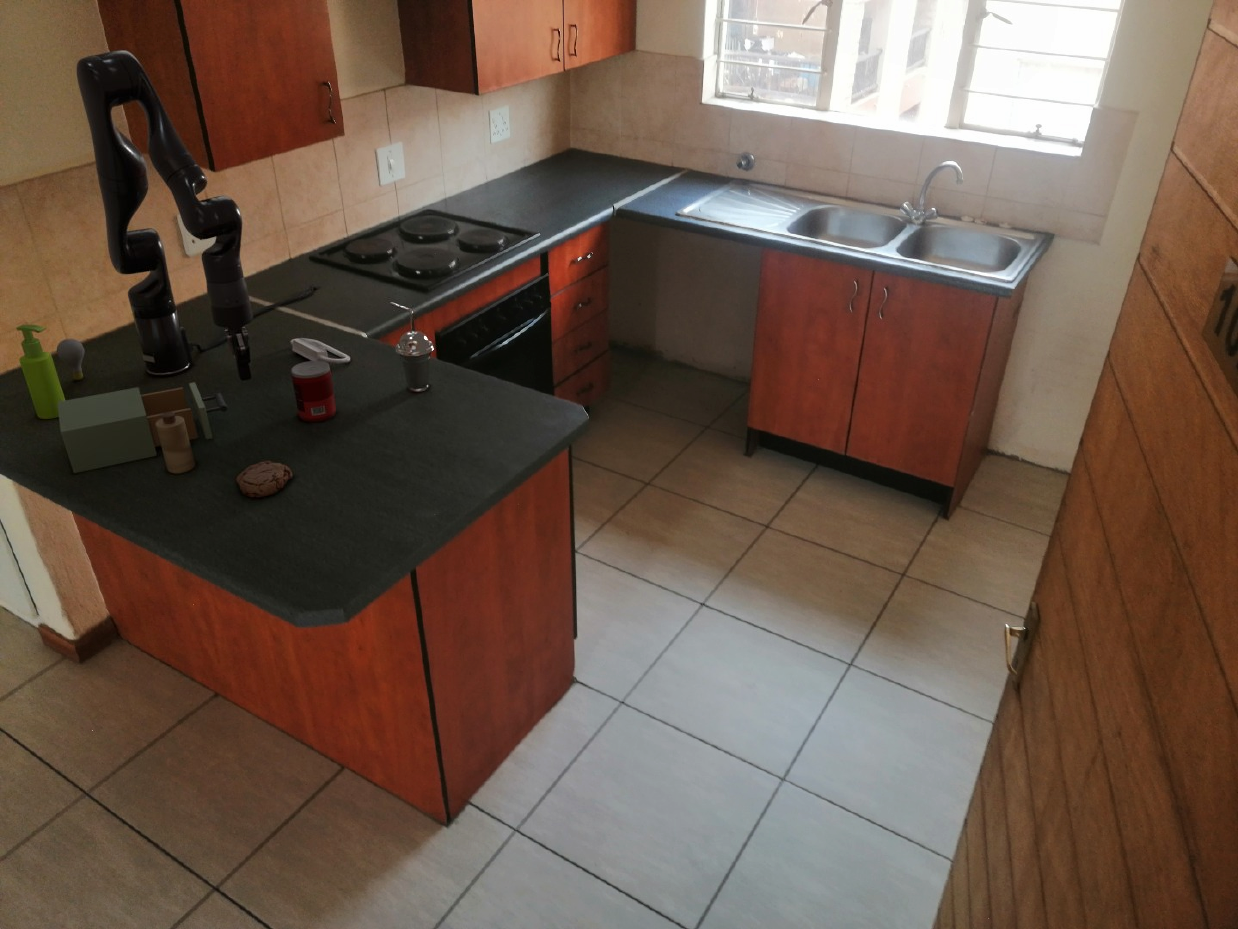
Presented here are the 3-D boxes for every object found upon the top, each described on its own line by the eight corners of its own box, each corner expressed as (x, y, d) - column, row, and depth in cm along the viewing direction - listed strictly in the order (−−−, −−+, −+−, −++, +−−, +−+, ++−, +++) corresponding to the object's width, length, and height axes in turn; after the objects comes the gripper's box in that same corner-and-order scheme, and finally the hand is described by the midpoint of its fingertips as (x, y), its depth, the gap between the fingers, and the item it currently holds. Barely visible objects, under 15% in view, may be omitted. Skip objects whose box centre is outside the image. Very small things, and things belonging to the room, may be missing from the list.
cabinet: (148, 425, 198) (138, 387, 193) (157, 455, 187) (146, 415, 182) (69, 441, 191) (57, 401, 187) (74, 473, 180) (60, 432, 176)
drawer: (222, 408, 203) (216, 378, 200) (234, 433, 193) (227, 402, 190) (132, 425, 196) (124, 395, 192) (139, 453, 185) (131, 421, 182)
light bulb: (97, 376, 219) (86, 336, 214) (79, 386, 214) (66, 345, 209) (79, 373, 220) (67, 333, 215) (60, 382, 216) (47, 342, 211)
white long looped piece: (355, 368, 228) (357, 353, 227) (326, 370, 222) (327, 354, 221) (312, 346, 240) (313, 332, 239) (282, 347, 234) (283, 332, 233)
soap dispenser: (59, 420, 199) (31, 332, 189) (31, 417, 200) (1, 329, 191) (78, 408, 204) (52, 322, 194) (50, 405, 205) (23, 319, 196)
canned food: (344, 410, 205) (337, 364, 200) (319, 425, 199) (311, 378, 193) (316, 403, 208) (308, 357, 202) (291, 418, 201) (282, 371, 196)
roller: (184, 458, 186) (171, 406, 180) (200, 465, 183) (187, 412, 178) (161, 469, 182) (147, 416, 176) (178, 476, 180) (164, 422, 174)
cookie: (240, 502, 172) (237, 488, 170) (236, 475, 180) (233, 462, 179) (296, 492, 175) (294, 478, 174) (290, 466, 184) (287, 452, 182)
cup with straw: (412, 399, 210) (402, 314, 200) (391, 386, 216) (381, 303, 206) (444, 389, 215) (437, 306, 205) (423, 376, 221) (415, 295, 211)
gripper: (255, 306, 184) (270, 386, 193) (242, 287, 194) (257, 364, 203) (215, 312, 181) (232, 394, 189) (204, 292, 191) (221, 371, 199)
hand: (245, 378), depth 196 cm, fingers closed
